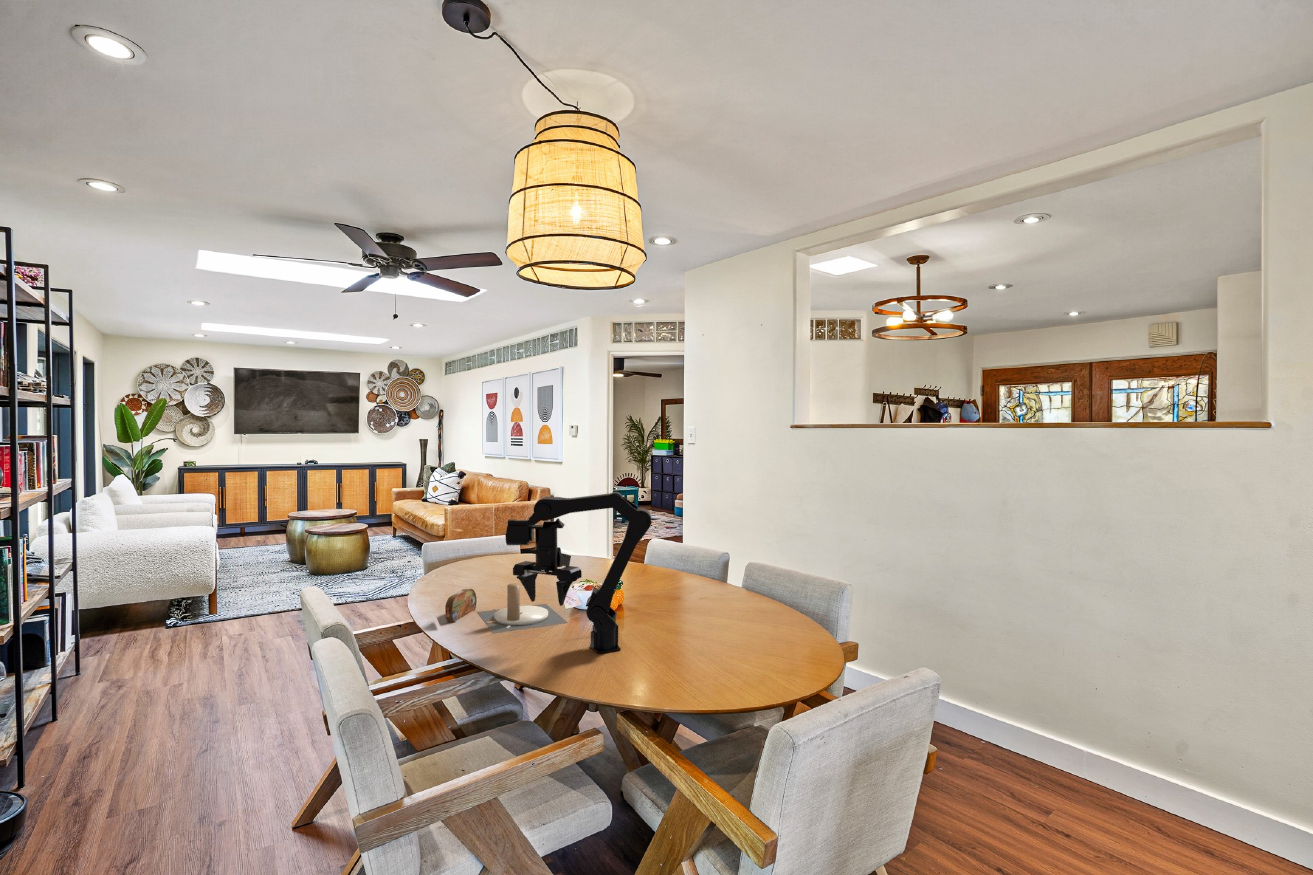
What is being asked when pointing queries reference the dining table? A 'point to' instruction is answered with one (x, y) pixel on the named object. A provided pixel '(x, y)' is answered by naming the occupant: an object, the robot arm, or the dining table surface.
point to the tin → (460, 604)
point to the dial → (519, 610)
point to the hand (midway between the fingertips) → (547, 603)
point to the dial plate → (498, 627)
